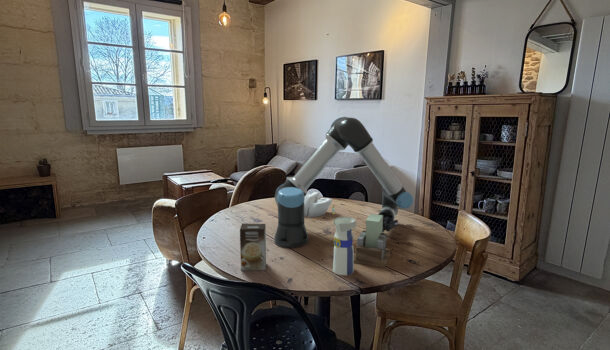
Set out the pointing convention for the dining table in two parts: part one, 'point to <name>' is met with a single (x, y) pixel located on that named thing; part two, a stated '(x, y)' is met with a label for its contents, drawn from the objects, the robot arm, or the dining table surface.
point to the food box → (253, 246)
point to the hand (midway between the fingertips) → (377, 232)
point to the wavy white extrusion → (315, 205)
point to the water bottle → (343, 245)
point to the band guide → (372, 252)
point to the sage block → (373, 230)
